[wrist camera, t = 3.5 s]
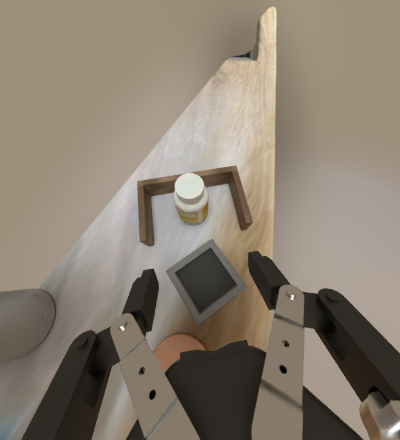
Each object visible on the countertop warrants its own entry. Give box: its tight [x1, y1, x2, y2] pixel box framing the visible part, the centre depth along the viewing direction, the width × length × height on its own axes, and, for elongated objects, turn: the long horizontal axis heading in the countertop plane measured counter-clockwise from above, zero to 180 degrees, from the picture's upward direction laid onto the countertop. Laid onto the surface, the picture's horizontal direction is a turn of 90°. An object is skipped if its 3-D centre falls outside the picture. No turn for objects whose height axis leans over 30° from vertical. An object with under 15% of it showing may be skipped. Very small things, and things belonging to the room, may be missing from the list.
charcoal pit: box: [166, 239, 247, 325], centre depth 25 cm, size 9×9×2 cm
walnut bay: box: [137, 166, 253, 246], centre depth 28 cm, size 18×11×4 cm, turn 100°
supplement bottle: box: [173, 173, 208, 225], centre depth 25 cm, size 5×5×10 cm
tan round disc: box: [153, 333, 207, 373], centre depth 22 cm, size 9×9×1 cm
